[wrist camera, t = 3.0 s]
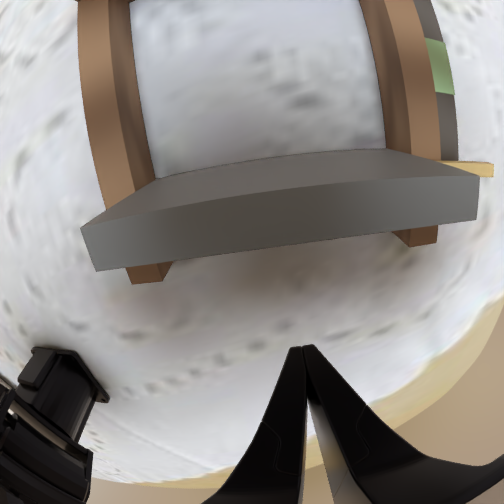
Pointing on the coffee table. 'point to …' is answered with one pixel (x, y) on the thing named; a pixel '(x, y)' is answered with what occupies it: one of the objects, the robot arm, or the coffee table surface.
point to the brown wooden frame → (389, 76)
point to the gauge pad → (282, 205)
